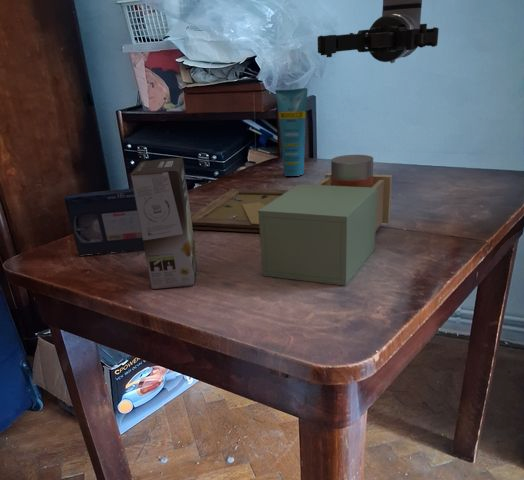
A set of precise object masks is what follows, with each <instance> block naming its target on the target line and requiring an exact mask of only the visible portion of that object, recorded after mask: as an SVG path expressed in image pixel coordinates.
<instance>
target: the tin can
mask: <svg viewBox="0 0 524 480" xmlns="http://www.w3.org/2000/svg"><path fill="white" fill-rule="evenodd" d="M330 160H331V162H330V163H331V164H330V166H331V167H330V169H331V170H330V171H331V172H330V173H331V186H349V187H372V186H373V175H374V157H373V156H371V155H367V154H343V155H339V156H335V157H332V158H331V159H330Z"/></svg>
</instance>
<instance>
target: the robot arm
mask: <svg viewBox="0 0 524 480" xmlns="http://www.w3.org/2000/svg"><path fill="white" fill-rule="evenodd" d="M422 6H423V0H382V11H381V16H380V17H378V18H377V19H376V20H375V21H374V22H373V23H372V24H371V26H370V28H369V29H360V30H358V31H357V33H353V32H349V33H346V34H328V35H318V36H317V54H320V56H326V58H332V57H333V55H334V54H337V52H347V51H357V52H358V53H368V52H369V54H370V55H371V57H372V58H373V59H374V60H376V61H379V62H382V63H390V64H394V63H396V60H398V59H400V58H406V57H408V56H410V55H412V54H413V53H414V52H415V51H416V50H417V49H418V48H425V47H431V48H435V47H437V46H438V42H439V41H438V40H439V30H440V29H439V27H435V26H433V27H432V28H428V23H421V20H422V19H421V18H422V9H423V7H422Z"/></svg>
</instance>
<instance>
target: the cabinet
mask: <svg viewBox="0 0 524 480" xmlns="http://www.w3.org/2000/svg"><path fill="white" fill-rule="evenodd" d="M288 190H289V191H287V192H286V193H284V194H283V195H281V196H280V197H278V198H277V199H275V200H274V201H272V202H271V203H269V204H268V205H266V206H265V207H263V208H261V209H260V210H258V215H259V229H260V232H259V239H260V240H259V242H260V256H261V268H262V276H263V277H270V278H280V279H287V280H296V281H303V282H310V283H311V282H312V283H318V284H319V283H320V284H327V285H335V286H344V287H347V285H348V284H349V283H350V281H351V280H352V279H353V278H354V277H355V275H356V274H357V273H358V271H359V270H360V269H361V267H362V266H363V265H364V263H366V261H367V260H368V259H369V257H370V256H371V254H372V253H373V252H374V251H375V249H376V231H377V230H376V207H377V188H371V187H349V186H327V185H317V184H304V183H303V184H302V183H301V184H299V183H298V184H296V185H295V186H294V187H292V188H290V189H288Z"/></svg>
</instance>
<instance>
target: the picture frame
mask: <svg viewBox="0 0 524 480" xmlns="http://www.w3.org/2000/svg"><path fill="white" fill-rule="evenodd" d="M289 190H290V189H265V188H263V189H262V188H259V189H258V188H232V189H229V190H228V191H227V192H225V193H224V194H222V195H220V196H219V197H217V198H216V199H214V200H213V201H212V202H210V203H208V204H206V205H205V206H204V207H201V209H199V210H198V211H195V213H193V214H191V221H192V228H193V230H205V231H221V232H222V231H223V232H224V231H225V232H243V233H260V229H259V215H258V210H260V209H261V208H263V207H265V206H266V205H268V204H269V203H271V202H272V201H274V200H275V199H277V198H278V197H280V196H281V195H283V194H284V193H286V192H287V191H289Z"/></svg>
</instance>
